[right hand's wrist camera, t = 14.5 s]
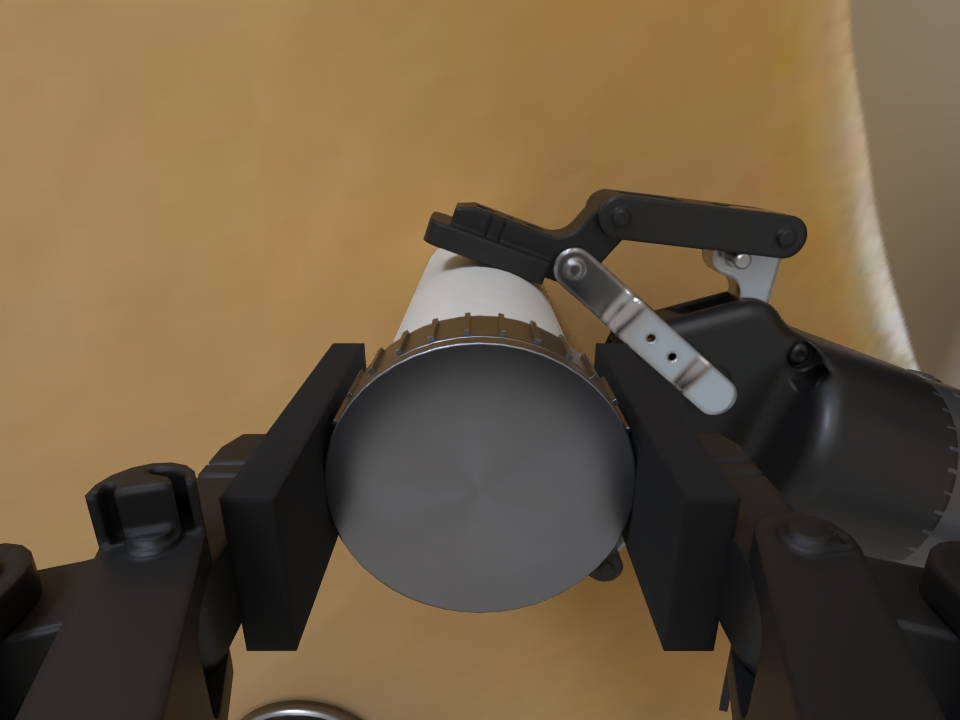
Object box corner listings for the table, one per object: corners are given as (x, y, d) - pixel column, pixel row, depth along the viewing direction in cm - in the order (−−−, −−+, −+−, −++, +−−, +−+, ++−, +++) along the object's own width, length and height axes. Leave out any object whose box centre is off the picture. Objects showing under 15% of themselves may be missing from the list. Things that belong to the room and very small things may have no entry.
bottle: (523, 353, 26) (573, 596, 12) (413, 331, 26) (334, 555, 12) (550, 244, 24) (645, 379, 10) (433, 219, 24) (368, 324, 10)
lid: (612, 292, 11) (634, 316, 9) (626, 545, 13) (647, 600, 11) (310, 331, 11) (283, 361, 10) (370, 573, 13) (356, 631, 12)
